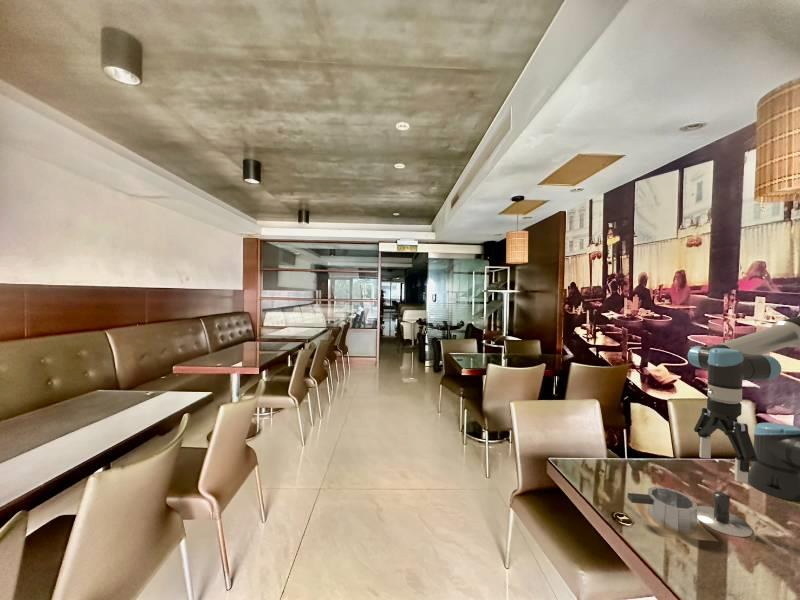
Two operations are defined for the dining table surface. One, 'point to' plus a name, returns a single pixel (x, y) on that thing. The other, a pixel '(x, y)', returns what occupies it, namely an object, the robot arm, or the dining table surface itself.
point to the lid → (723, 517)
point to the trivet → (699, 535)
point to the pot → (669, 509)
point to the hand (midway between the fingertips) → (721, 468)
